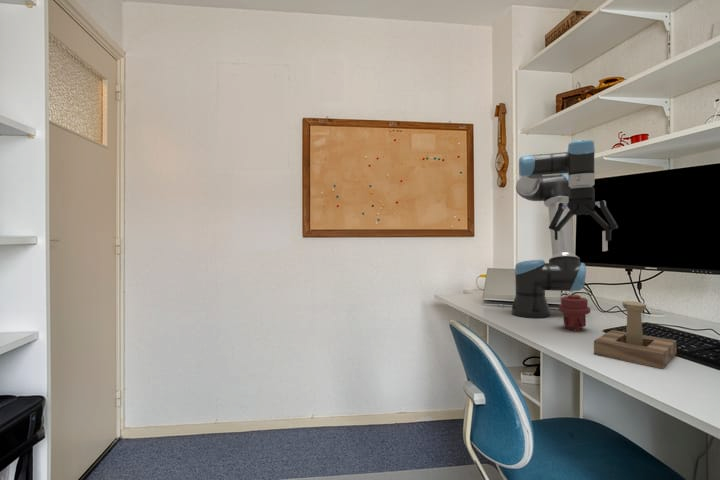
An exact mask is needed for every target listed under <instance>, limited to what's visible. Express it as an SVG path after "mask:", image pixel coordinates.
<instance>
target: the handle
mask: <svg viewBox="0 0 720 480" xmlns="http://www.w3.org/2000/svg"><path fill="white" fill-rule="evenodd" d="M622 307H623V309H625V310H626V313H627V314H626V331H625V332H626V341H627V343H628V344H634V345H639V346H642V345H643V335H644V333H643V321H642V312H644V311H645V310H647V304H646V303H643V302H639V301H633V300H631V301H630V300H629V301H627V300H625V301H622Z"/></svg>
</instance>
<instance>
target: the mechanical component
mask: <svg viewBox="0 0 720 480" xmlns="http://www.w3.org/2000/svg"><path fill="white" fill-rule="evenodd" d="M560 301H561V303H560V305H558V311H559V312H561V313H562V314H563V327H564V328H565V329H568V330H572V331H575V332H580V331H581V330H582V329H583V328H585V327H586V326H587V325H586V322H587V321H586V315H589V314H591V308H590V307H589V305H588V302H589V301H588V298H586V297H581V296H580V295H578V294H577V295H576V294H568V295H567V296H563V297H561V298H560Z"/></svg>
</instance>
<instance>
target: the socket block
mask: <svg viewBox="0 0 720 480" xmlns="http://www.w3.org/2000/svg"><path fill="white" fill-rule="evenodd" d="M593 354H594V355H596V354H597V356H601V357H605V358H610V359H615V360H620V361H624V362H629V363H635V364H640V365H645V366H647V367H652V368H658V369H662V370H664V368H665V367H666V366H667V365H668V364H669V363H670V362H671V361H672V360H673V358H675V356H676V355H677V340H675V339H669V338H665V337H657V336H653V335H652V336H650V335H645V334H643V345H642V346H639V345H634V344H628V343H627V341H626V331H625V332H624V331H620V330H615V329H611V330H609V331H607V332H606V333H604V334H602V335H600V336H599V337H598V338H596V339H594V340H593Z"/></svg>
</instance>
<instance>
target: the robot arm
mask: <svg viewBox="0 0 720 480" xmlns="http://www.w3.org/2000/svg"><path fill="white" fill-rule="evenodd" d="M595 152H596V149H595V141H594V140H593V139H579V140H574V141H571V142H569V143H568V146H567V151H564V152H555V153H553V152H552V153H544V154H529V155H523V156H520V157H519V158H518V174H519V176H520V177H519V178H518V180H517V181H516V184H515V191H516V193H517V194H518V195H519V196H520V197H521V198H522V199H525V200H528V201H531V202H543V204H544V206H545V207H546V208H548V218H549V219H548V220H549V225H548V229H549V232H550V241H551V242H550V243H551V255H552V256H551V257H550V258H549V259H548V263H546V261H545V260H544V259H532V260H531V259H530V260H524V261H519V262H517V263H516V264H515V268H514V269H515V271H514V275H515V280H514V281H515V295H514V296H515V298H514V300H513V303H512V307H511V314H512V315H513V316H517V317H522V318H530V319H531V318H533V319H535V318H536V319H539V318H543V319H544V318H548V317H550V316H551V309H550V306H549V304H548V301H547V298H546V291H554V292H555V291H559V292H562V291H563V292H577V291H581V290H582V289H583V288H584V286H585V283H586V277H587V275H586V274H587V268H586V267H587V266H586V264H585V263H584V262H581V259H580V257H579V256H578V255H576V251H575V250H576V249H575V243H574V233H573V223H572V217H573V216H581V215H582V216H588V215H589V216H590V217H592V219H593V220H595V221H596V222H597V223H598V224H599V226H600V227H602V228H603V230H602V234H601V235H602V239H601V240H602V246H601V247H602V250H601V251H602V252H607V251H609V249H608V245H609V244H608V243H609V241H611V240H612V231H613V230H615V229H618V228H619V225H618V224H617V222H616V220H615V219H614V217H613V215H612V214H611V212H610V210H609V208H608V206H607V201H606V200H603V199H602V200H600V201H596V200H595V195H596V194H595V187H594V186H595V183H596V182H595V179H596V178H595ZM596 206H597V207H598V208H600V211H601V213H602V214H603V216H604V217H605V219H606V220H607V222H608V223H607V222H606V221H605V220H604V218H602V217H601V216H600V215H599V214H598V213H597V211H596V210H595V208H596Z"/></svg>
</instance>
